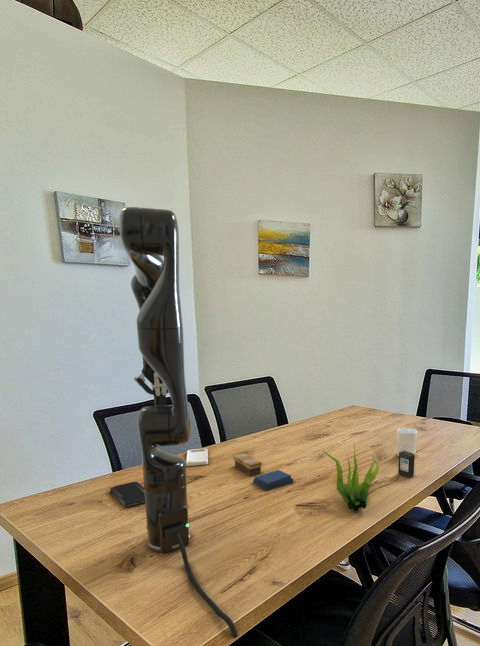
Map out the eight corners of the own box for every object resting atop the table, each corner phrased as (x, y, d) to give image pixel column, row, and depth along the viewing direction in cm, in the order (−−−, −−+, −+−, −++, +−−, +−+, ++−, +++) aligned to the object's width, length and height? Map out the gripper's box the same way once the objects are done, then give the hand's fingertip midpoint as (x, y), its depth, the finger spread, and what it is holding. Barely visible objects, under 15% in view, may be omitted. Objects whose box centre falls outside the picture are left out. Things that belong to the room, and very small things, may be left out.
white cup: (419, 454, 166) (420, 429, 165) (411, 460, 160) (412, 434, 158) (400, 451, 171) (401, 426, 169) (392, 456, 164) (393, 431, 162)
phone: (136, 481, 136) (153, 496, 125) (136, 484, 136) (153, 499, 125) (108, 487, 131) (124, 504, 120) (109, 491, 131) (124, 508, 120)
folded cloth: (293, 482, 139) (293, 475, 139) (266, 490, 133) (265, 483, 132) (279, 475, 145) (279, 468, 145) (253, 482, 139) (252, 475, 138)
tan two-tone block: (262, 473, 146) (261, 462, 146) (250, 476, 143) (250, 465, 143) (245, 463, 155) (244, 453, 155) (233, 466, 152) (233, 455, 152)
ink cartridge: (397, 474, 147) (398, 451, 145) (402, 472, 148) (402, 450, 147) (409, 478, 143) (410, 455, 142) (413, 476, 145) (414, 453, 144)
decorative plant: (385, 476, 145) (387, 434, 142) (365, 516, 117) (366, 464, 114) (334, 470, 150) (335, 429, 147) (303, 507, 122) (303, 457, 119)
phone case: (207, 464, 154) (207, 451, 168) (207, 460, 154) (207, 448, 168) (186, 466, 152) (187, 453, 166) (185, 462, 152) (187, 449, 166)
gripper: (135, 349, 113) (140, 413, 116) (185, 347, 122) (188, 407, 125) (127, 347, 119) (132, 408, 122) (175, 345, 127) (179, 402, 130)
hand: (160, 407), depth 123 cm, fingers closed
